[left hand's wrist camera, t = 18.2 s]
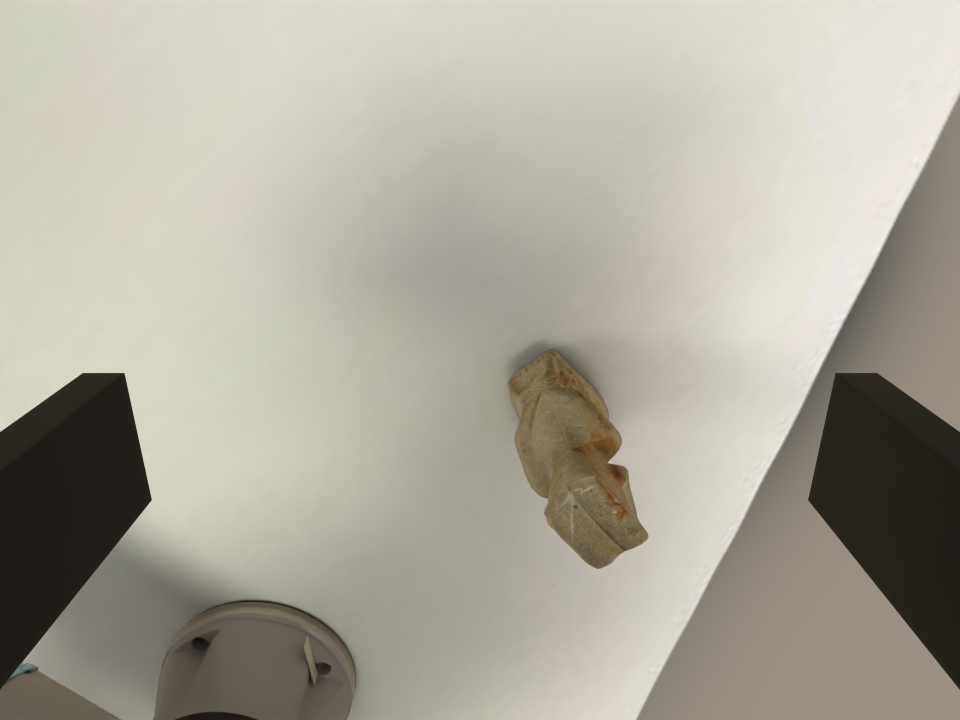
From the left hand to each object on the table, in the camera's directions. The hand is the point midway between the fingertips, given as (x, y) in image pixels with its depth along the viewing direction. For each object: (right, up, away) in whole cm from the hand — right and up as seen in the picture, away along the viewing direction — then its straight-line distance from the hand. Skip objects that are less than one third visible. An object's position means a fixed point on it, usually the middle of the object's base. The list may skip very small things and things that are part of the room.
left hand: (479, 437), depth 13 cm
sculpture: (+5, 0, +33) cm, 34 cm away
